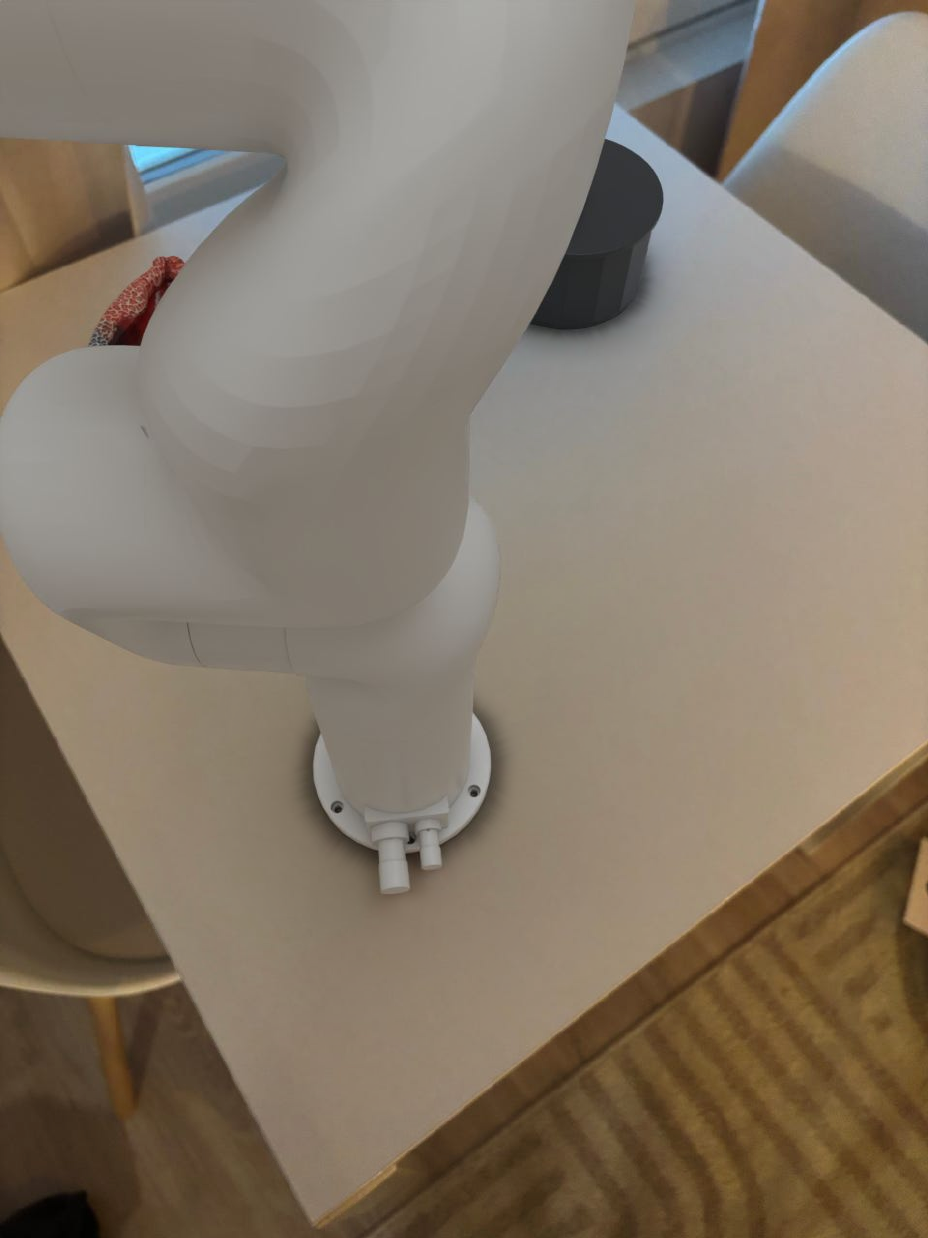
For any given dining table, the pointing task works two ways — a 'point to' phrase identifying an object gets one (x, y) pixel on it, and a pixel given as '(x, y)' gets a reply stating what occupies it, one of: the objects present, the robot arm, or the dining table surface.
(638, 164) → the pan lid
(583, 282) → the pot
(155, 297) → the dish
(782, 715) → the dining table surface
